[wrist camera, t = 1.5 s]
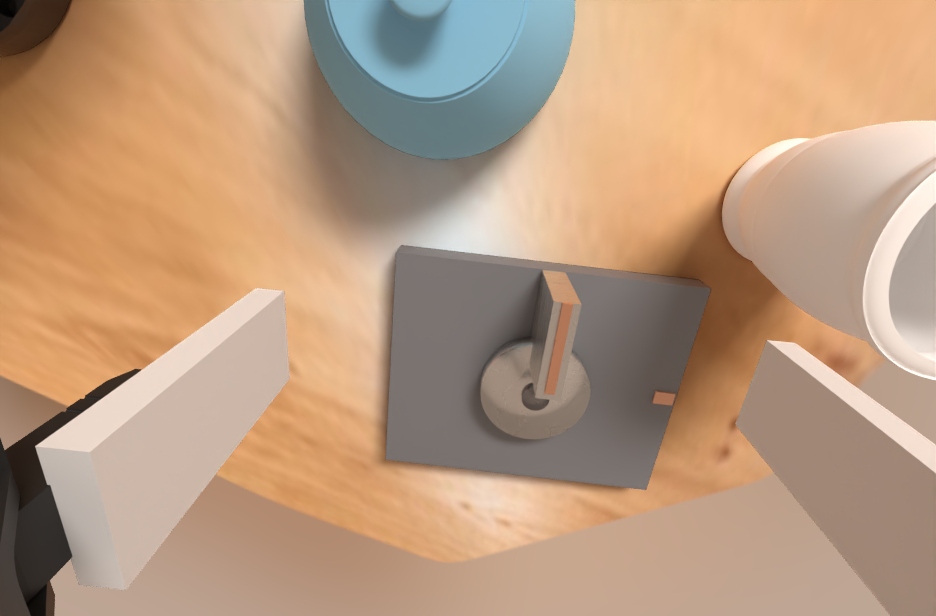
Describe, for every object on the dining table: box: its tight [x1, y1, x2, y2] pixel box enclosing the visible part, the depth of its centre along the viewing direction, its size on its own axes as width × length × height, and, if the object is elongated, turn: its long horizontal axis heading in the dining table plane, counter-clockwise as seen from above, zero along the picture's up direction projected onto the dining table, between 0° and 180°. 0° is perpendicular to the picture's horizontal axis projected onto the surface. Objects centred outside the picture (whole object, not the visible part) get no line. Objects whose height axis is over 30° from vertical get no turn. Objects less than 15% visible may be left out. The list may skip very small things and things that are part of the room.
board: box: [386, 245, 711, 490], centre depth 36 cm, size 22×18×2 cm
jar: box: [722, 121, 936, 380], centre depth 25 cm, size 11×10×15 cm
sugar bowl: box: [304, 0, 575, 160], centre depth 24 cm, size 15×15×12 cm
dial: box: [480, 270, 590, 439], centre depth 32 cm, size 13×8×6 cm, turn 174°
